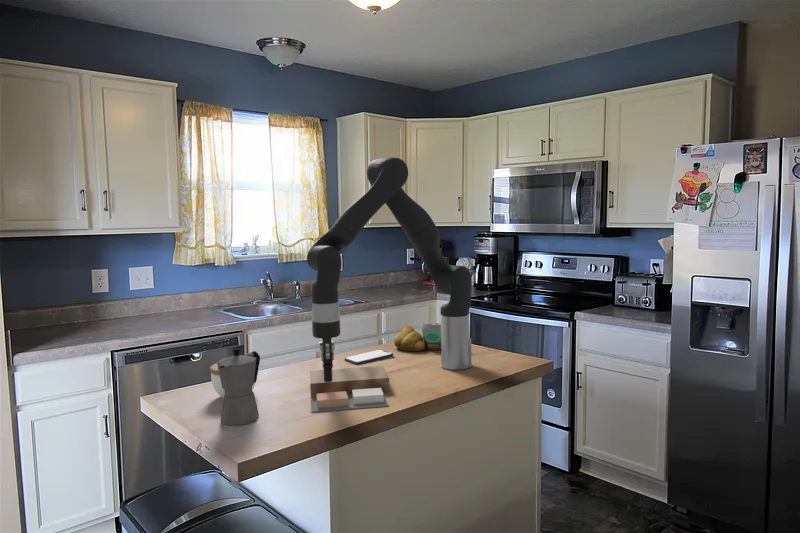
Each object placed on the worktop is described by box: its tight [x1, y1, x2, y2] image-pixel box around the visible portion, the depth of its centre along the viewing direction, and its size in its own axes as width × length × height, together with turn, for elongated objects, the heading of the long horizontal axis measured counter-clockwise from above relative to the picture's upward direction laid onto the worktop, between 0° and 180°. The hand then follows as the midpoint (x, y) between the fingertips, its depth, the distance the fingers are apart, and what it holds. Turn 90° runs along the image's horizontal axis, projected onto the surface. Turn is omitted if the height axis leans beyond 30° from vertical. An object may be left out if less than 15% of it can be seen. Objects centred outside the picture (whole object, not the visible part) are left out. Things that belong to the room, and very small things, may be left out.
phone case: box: [344, 349, 394, 366], centre depth 193 cm, size 9×2×16 cm
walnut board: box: [309, 365, 390, 398], centre depth 160 cm, size 22×13×4 cm, turn 100°
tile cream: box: [352, 388, 385, 404], centre depth 149 cm, size 8×6×2 cm
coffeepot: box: [216, 347, 261, 427], centre depth 137 cm, size 15×9×18 cm, turn 159°
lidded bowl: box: [209, 362, 257, 400], centre depth 155 cm, size 13×13×11 cm
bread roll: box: [393, 325, 425, 352], centre depth 205 cm, size 13×10×8 cm
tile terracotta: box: [316, 391, 348, 408], centre depth 146 cm, size 8×6×2 cm
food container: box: [420, 322, 441, 352], centre depth 202 cm, size 12×6×10 cm, turn 80°
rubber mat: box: [310, 393, 390, 414], centre depth 148 cm, size 20×12×1 cm, turn 100°
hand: (328, 381), depth 151 cm, fingers closed
